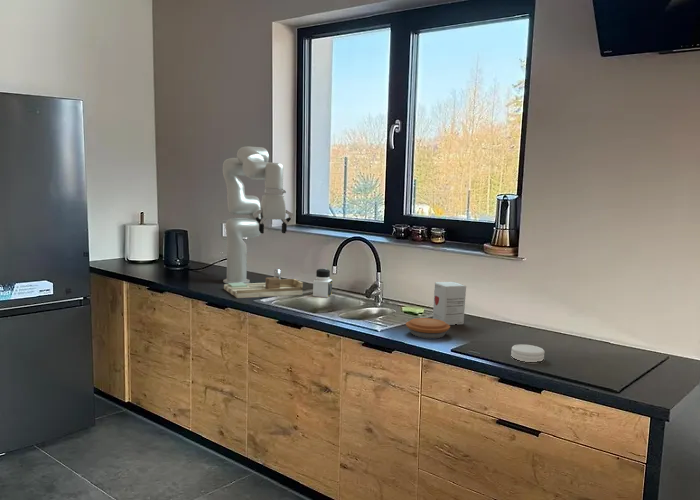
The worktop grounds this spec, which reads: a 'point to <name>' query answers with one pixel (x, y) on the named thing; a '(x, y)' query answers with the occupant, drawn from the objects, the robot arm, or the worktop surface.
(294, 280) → the board
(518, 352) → the white round container
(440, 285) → the supplement box
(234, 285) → the pad
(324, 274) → the medicine bottle
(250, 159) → the robot arm
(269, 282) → the walnut cube
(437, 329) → the pie
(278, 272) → the grey metal peg
